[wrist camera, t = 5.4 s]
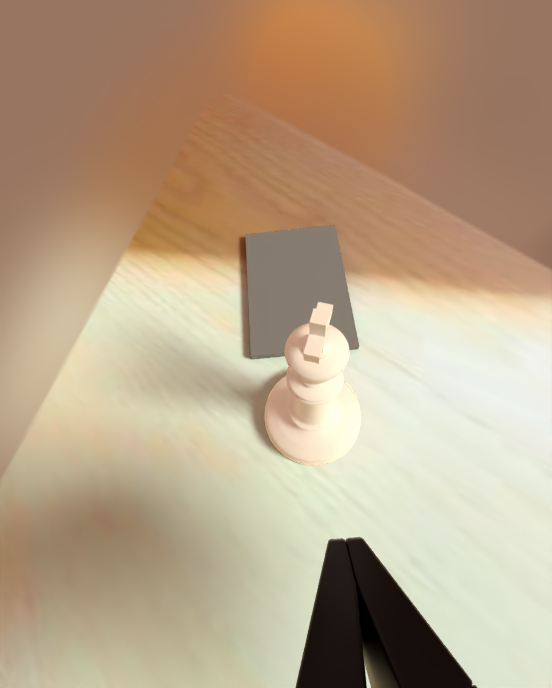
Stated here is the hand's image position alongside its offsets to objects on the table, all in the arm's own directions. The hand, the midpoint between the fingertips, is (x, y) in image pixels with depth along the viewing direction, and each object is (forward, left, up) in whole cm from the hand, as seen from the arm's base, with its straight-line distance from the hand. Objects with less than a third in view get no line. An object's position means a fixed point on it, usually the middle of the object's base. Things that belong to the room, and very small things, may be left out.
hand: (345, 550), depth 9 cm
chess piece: (+4, +3, -8) cm, 10 cm away
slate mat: (+11, +8, -8) cm, 15 cm away
